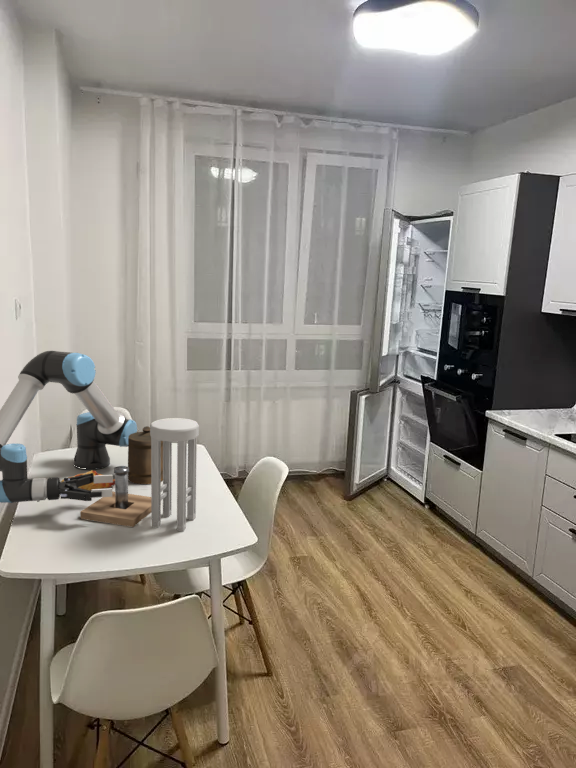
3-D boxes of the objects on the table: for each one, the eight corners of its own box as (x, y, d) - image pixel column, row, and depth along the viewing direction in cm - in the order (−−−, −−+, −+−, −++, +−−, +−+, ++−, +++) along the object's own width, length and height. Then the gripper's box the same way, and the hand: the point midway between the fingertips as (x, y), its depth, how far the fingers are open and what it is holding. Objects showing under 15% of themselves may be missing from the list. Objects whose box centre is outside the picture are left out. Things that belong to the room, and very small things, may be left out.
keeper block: (112, 497, 215) (111, 491, 214) (160, 504, 210) (160, 498, 209) (80, 518, 196) (80, 511, 195) (133, 527, 191) (133, 520, 190)
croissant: (59, 497, 222) (55, 483, 217) (66, 477, 229) (62, 464, 224) (115, 497, 223) (112, 483, 218) (120, 477, 231) (117, 464, 226)
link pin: (119, 507, 206) (118, 465, 203) (132, 509, 205) (131, 467, 202) (111, 513, 201) (110, 469, 198) (124, 515, 200) (124, 471, 197)
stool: (203, 516, 202) (204, 420, 195) (186, 534, 187) (187, 431, 180) (162, 510, 205) (162, 415, 198) (142, 528, 190) (142, 426, 183)
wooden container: (168, 473, 243) (168, 423, 239) (159, 485, 229) (159, 432, 225) (134, 471, 244) (133, 421, 240) (123, 483, 229) (122, 430, 225)
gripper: (51, 486, 206) (113, 482, 212) (42, 514, 183) (112, 509, 189) (50, 466, 205) (112, 463, 211) (41, 492, 181) (111, 487, 187)
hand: (112, 485), depth 200 cm, fingers open, 13 cm apart
